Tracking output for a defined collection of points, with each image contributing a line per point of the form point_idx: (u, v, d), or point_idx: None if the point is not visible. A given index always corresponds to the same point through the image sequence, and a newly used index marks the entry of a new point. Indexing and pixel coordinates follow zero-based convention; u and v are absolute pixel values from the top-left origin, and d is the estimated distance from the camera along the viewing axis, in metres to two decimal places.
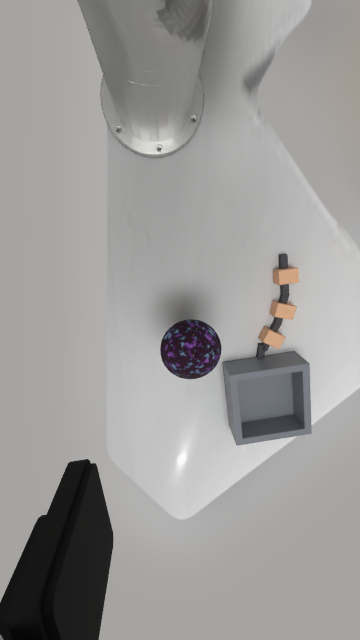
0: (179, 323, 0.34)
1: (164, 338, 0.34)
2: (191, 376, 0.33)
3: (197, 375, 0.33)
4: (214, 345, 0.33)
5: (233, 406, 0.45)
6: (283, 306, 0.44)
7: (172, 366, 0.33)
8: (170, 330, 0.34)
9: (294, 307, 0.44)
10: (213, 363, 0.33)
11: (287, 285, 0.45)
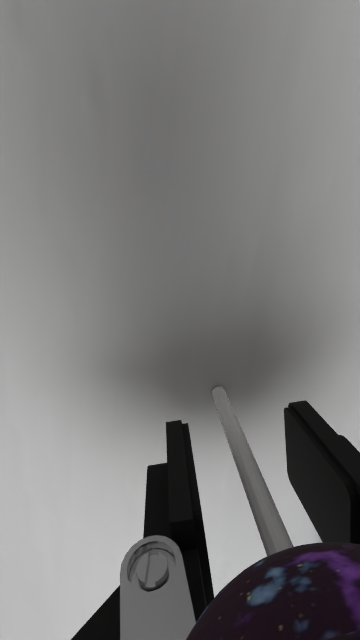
0: None
1: None
2: None
3: None
4: None
5: None
6: None
7: None
8: None
9: None
10: None
11: None
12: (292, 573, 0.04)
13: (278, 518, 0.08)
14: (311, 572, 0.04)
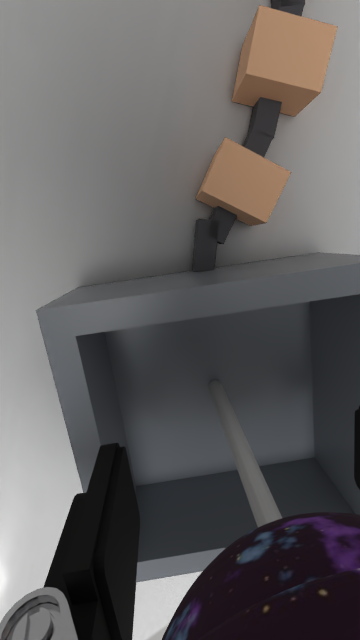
0: None
1: None
2: None
3: None
4: None
5: (75, 445, 0.11)
6: (284, 24, 0.10)
7: None
8: None
9: (328, 30, 0.11)
10: None
11: None
12: (279, 535, 0.04)
13: (271, 500, 0.08)
14: (297, 533, 0.04)
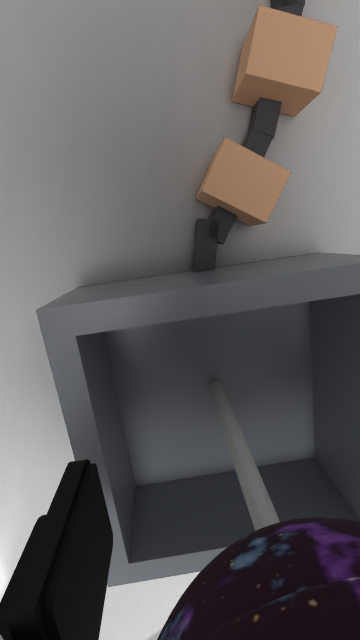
0: None
1: None
2: None
3: None
4: None
5: (75, 445, 0.11)
6: (284, 24, 0.10)
7: None
8: None
9: (328, 30, 0.11)
10: None
11: None
12: (273, 541, 0.04)
13: (269, 502, 0.08)
14: (290, 539, 0.04)
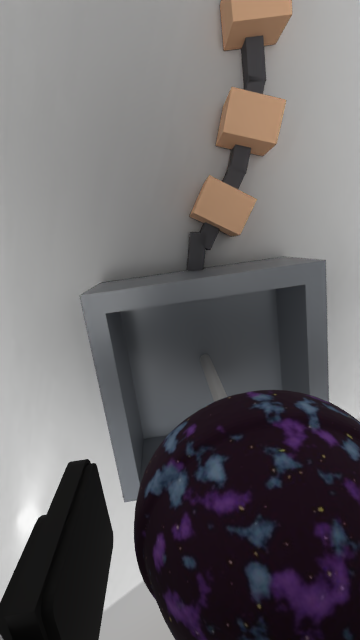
0: (223, 416, 0.07)
1: (150, 489, 0.07)
2: None
3: None
4: None
5: (103, 392, 0.15)
6: (249, 98, 0.15)
7: None
8: (179, 452, 0.07)
9: (280, 102, 0.15)
10: None
11: (260, 46, 0.16)
12: (222, 398, 0.09)
13: None
14: None
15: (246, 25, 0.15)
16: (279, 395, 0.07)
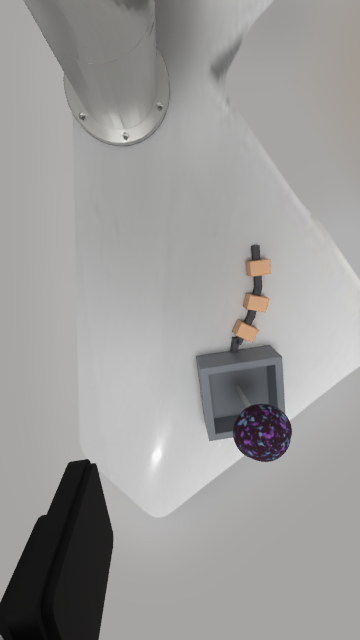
0: (253, 409, 0.35)
1: (239, 424, 0.35)
2: (266, 461, 0.35)
3: (272, 460, 0.35)
4: (288, 432, 0.35)
5: (205, 400, 0.44)
6: (256, 299, 0.43)
7: (248, 452, 0.35)
8: (245, 416, 0.35)
9: (267, 299, 0.43)
10: None
11: (260, 277, 0.44)
12: (251, 405, 0.37)
13: None
14: None
15: (255, 275, 0.43)
16: (264, 405, 0.36)
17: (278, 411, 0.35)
